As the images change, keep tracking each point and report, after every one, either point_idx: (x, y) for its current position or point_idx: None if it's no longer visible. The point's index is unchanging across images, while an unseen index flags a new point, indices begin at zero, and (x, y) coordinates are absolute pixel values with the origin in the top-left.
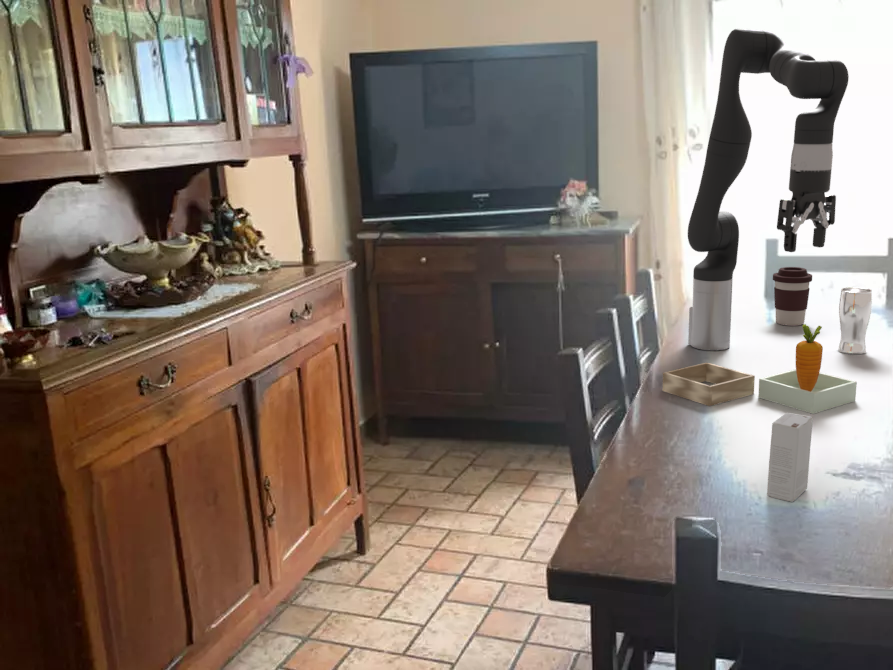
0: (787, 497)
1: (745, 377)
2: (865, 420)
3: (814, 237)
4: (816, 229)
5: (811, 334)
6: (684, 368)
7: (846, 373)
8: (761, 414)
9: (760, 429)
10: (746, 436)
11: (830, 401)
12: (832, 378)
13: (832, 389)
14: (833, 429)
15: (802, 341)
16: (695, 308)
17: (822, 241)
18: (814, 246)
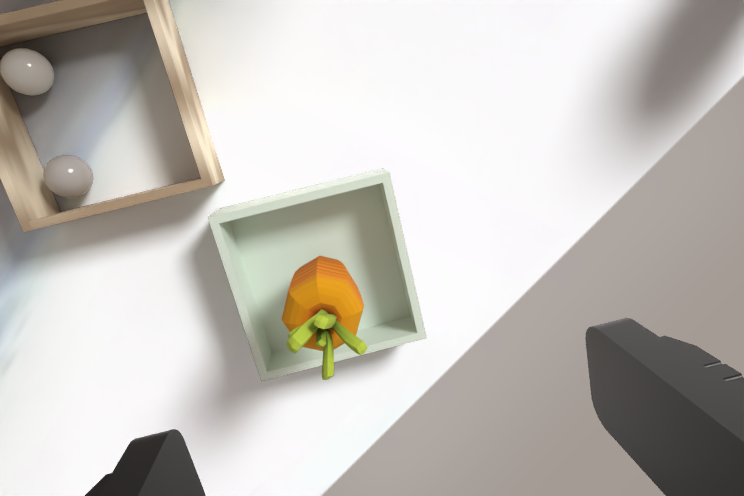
0: None
1: (176, 190)
2: (342, 425)
3: (647, 382)
4: (735, 476)
5: (318, 344)
6: (34, 15)
7: (572, 121)
8: (152, 320)
9: (93, 401)
10: (38, 426)
11: None
12: (404, 278)
13: None
14: (243, 447)
15: (305, 305)
16: None
17: (636, 457)
18: (586, 342)
